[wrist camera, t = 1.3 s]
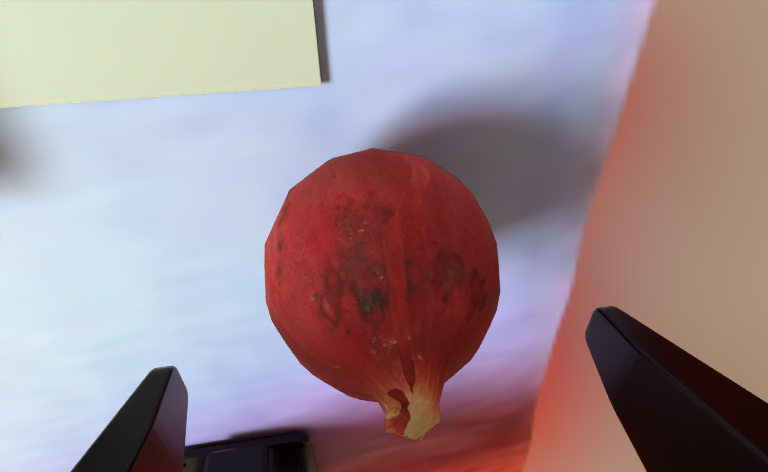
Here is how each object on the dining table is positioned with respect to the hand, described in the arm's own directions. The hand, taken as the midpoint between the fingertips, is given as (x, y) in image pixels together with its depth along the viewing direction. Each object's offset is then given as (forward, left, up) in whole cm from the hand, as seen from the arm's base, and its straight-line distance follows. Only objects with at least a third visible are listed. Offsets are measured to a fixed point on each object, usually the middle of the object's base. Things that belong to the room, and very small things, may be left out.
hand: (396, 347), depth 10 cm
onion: (0, 0, -6) cm, 6 cm away
